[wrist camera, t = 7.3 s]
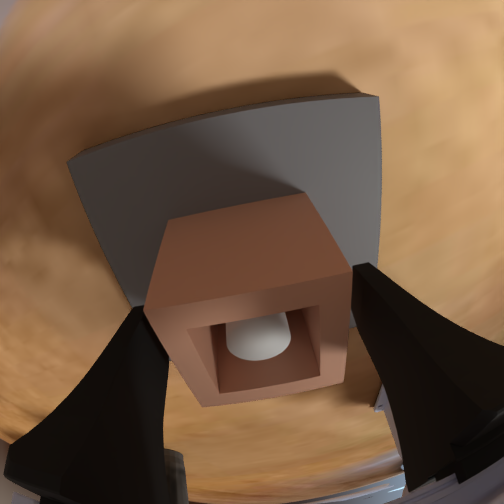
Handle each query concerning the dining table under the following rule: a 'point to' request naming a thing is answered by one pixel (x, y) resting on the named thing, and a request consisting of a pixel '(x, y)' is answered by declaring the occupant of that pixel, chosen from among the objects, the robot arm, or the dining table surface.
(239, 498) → the dining table surface
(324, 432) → the dining table surface
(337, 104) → the post board
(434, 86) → the dining table surface
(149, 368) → the robot arm
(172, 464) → the beverage cup
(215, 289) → the collar
